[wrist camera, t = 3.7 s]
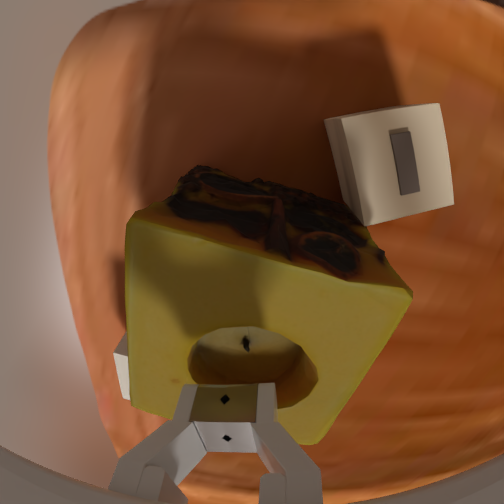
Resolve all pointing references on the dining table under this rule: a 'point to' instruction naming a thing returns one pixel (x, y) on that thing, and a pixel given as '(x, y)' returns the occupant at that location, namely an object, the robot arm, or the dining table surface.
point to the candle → (255, 297)
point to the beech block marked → (391, 161)
